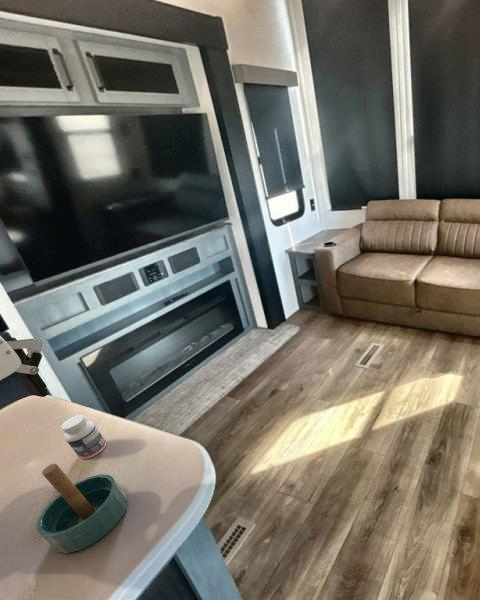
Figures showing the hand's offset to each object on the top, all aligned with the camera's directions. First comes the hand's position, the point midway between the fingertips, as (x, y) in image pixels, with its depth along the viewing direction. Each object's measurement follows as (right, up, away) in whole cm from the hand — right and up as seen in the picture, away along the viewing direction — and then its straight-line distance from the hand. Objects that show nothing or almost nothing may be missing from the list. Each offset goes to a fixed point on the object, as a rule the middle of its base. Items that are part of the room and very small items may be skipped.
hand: (4, 417), depth 54 cm
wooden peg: (+3, -23, +12) cm, 26 cm away
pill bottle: (-10, -17, +28) cm, 34 cm away
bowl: (+3, -23, +12) cm, 26 cm away
